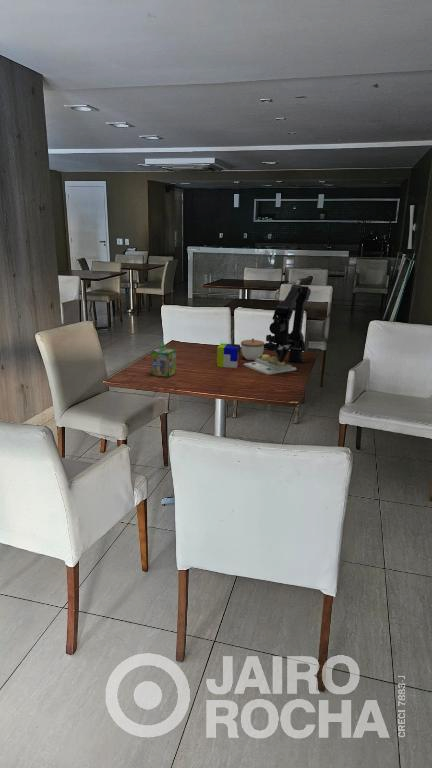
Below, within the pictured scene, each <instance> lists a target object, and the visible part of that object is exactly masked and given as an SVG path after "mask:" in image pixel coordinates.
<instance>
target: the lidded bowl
mask: <svg viewBox="0 0 432 768" xmlns="http://www.w3.org/2000/svg"><path fill="white" fill-rule="evenodd" d="M264 344H265V342H264V341H262V340H258V339H255V338H251V339H245V340H242V341H241V342H240V352H241V353H242V356H243V357H244V359H246V360H247V361H255V359H259V358H262V355H264V354H263V353H264V350H265V349H264Z"/></svg>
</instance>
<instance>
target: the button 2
mask: <svg viewBox="0 0 432 768" xmlns="http://www.w3.org/2000/svg"><path fill="white" fill-rule="evenodd" d="M277 361H278V362H277V366H280V367H282V366H285V364H286V363H285V362H286V361H283V362H279V360H277Z"/></svg>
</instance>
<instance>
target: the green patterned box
mask: <svg viewBox="0 0 432 768" xmlns="http://www.w3.org/2000/svg"><path fill="white" fill-rule="evenodd" d="M159 347H160V348H156V349H154V350H152V351H151V352H150V358H151V376H153V377H154V376H156V377H165V378H169V377H171V376H174V375H175V374H177V349H172V348H171V349H170V348H166V345H165V342H162V343H160V344H159Z"/></svg>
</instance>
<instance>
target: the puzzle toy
mask: <svg viewBox="0 0 432 768" xmlns="http://www.w3.org/2000/svg"><path fill="white" fill-rule="evenodd" d="M216 348H217V349H216V351H217V352H216V355H217V356H216V367H218V368H233V369H234V368H235V369H237V368H238V367H239V365H240V358H241V344H235V343H220V344H219V345H218V346H217V347H216Z"/></svg>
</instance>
